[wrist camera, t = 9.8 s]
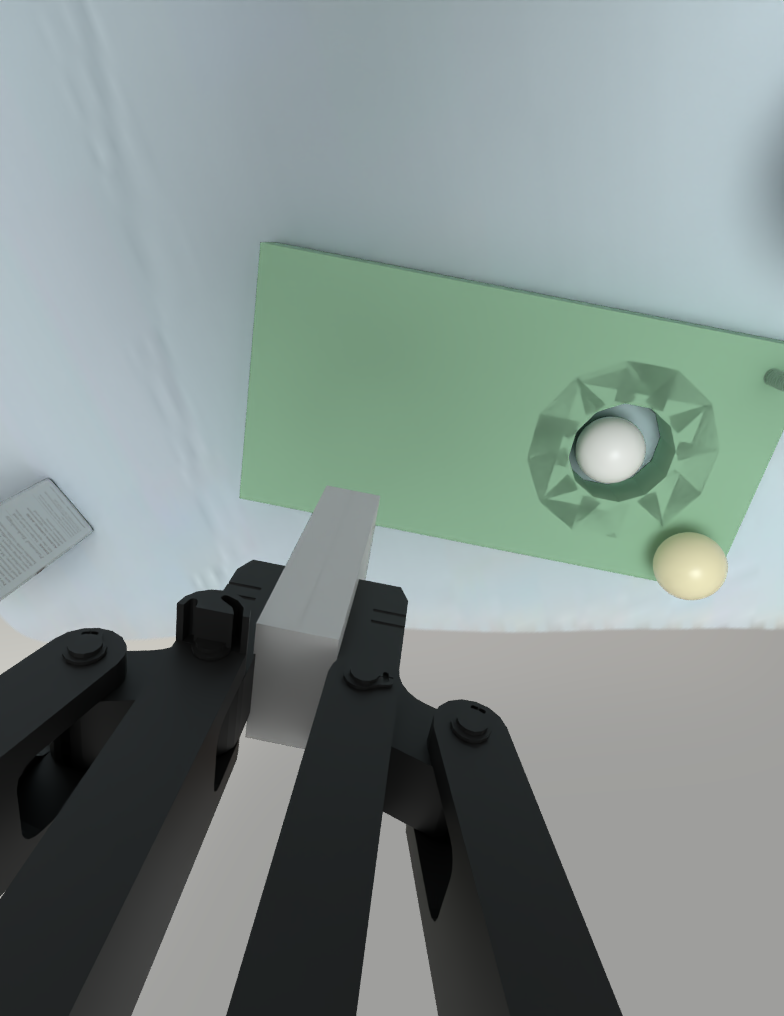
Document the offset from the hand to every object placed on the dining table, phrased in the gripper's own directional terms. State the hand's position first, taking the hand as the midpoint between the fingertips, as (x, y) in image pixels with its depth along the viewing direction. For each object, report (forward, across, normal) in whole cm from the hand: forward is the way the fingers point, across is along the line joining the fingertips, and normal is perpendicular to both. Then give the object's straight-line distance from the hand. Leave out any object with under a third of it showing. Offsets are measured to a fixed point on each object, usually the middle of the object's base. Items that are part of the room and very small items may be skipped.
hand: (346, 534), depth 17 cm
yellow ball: (+13, +16, -5) cm, 21 cm away
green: (+17, +6, 0) cm, 18 cm away
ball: (+16, +11, -1) cm, 19 cm away
